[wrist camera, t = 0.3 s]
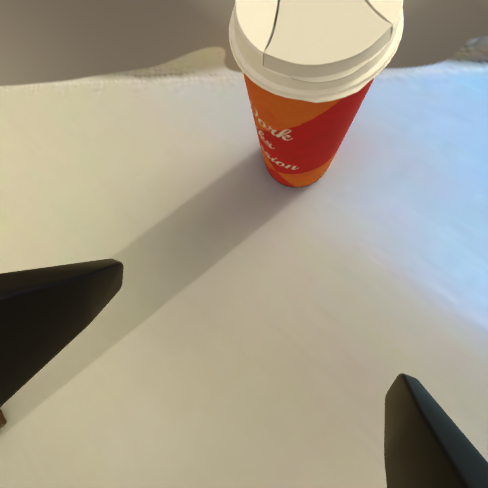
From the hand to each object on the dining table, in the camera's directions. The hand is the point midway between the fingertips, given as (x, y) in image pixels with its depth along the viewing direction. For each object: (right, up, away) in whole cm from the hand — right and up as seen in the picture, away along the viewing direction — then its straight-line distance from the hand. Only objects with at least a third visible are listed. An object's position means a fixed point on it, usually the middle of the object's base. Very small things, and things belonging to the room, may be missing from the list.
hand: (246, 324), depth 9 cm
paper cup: (+5, +10, +17) cm, 20 cm away
